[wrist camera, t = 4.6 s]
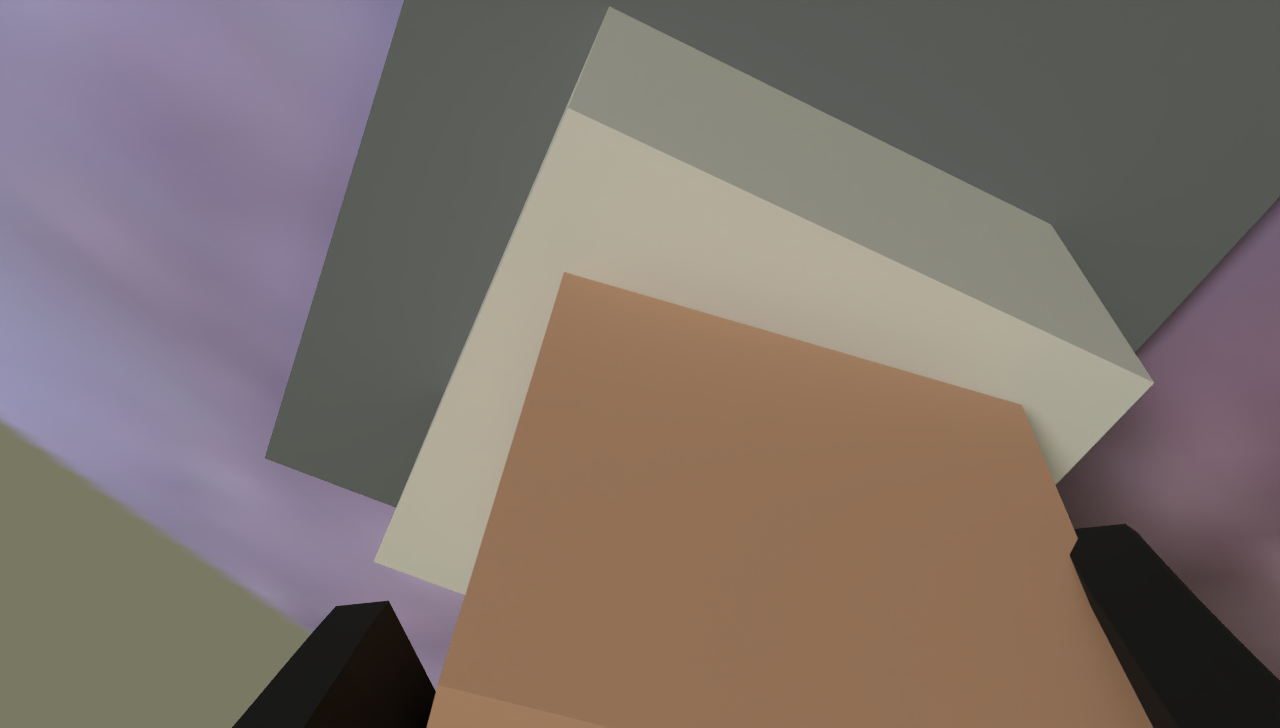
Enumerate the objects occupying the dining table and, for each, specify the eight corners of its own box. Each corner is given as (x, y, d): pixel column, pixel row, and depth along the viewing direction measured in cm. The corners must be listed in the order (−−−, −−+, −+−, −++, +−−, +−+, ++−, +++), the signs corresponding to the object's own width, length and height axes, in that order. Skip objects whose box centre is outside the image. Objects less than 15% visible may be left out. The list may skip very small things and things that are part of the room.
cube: (1021, 404, 10) (1221, 879, 6) (837, 688, 13) (886, 1144, 9) (564, 271, 10) (436, 685, 6) (475, 595, 12) (346, 1032, 8)
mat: (1693, -300, 11) (1741, -300, 10) (834, 650, 20) (837, 672, 20) (720, -993, 8) (720, -1039, 8) (277, 437, 18) (264, 457, 17)
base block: (1051, 224, 14) (1154, 382, 11) (804, 535, 18) (823, 725, 14) (609, 5, 13) (568, 107, 9) (444, 391, 16) (373, 561, 13)
